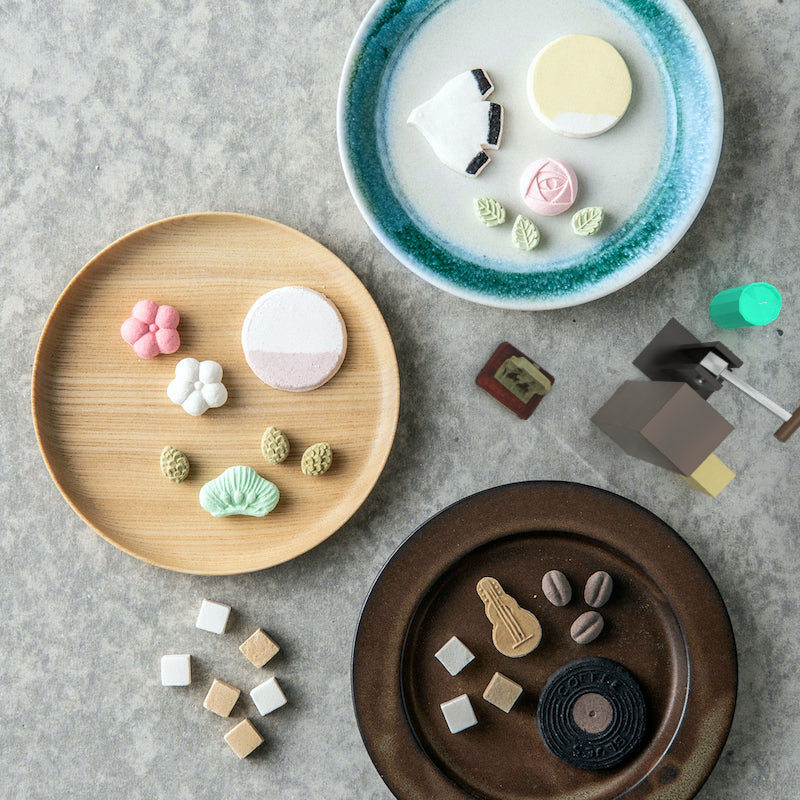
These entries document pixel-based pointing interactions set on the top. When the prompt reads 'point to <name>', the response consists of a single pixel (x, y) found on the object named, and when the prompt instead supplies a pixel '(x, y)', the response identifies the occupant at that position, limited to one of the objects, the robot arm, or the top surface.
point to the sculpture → (514, 380)
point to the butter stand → (663, 424)
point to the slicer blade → (754, 396)
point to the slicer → (683, 359)
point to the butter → (710, 476)
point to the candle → (746, 306)
